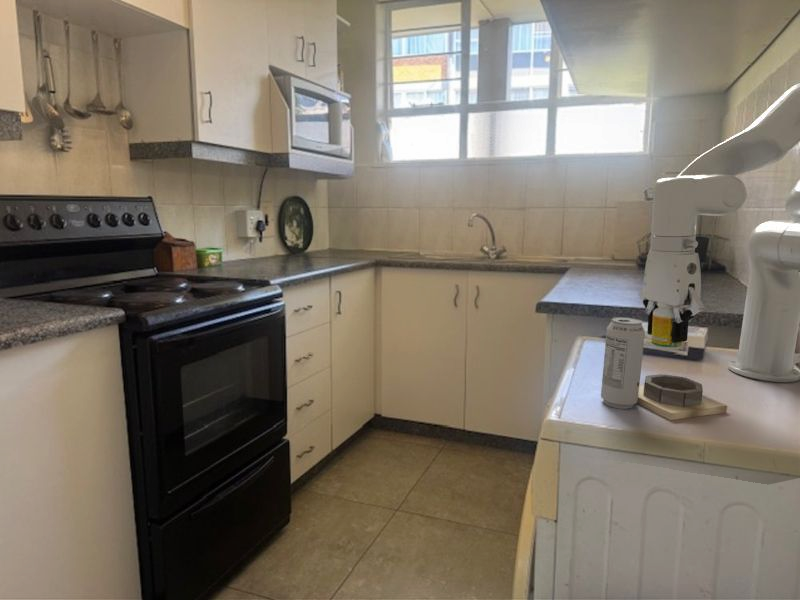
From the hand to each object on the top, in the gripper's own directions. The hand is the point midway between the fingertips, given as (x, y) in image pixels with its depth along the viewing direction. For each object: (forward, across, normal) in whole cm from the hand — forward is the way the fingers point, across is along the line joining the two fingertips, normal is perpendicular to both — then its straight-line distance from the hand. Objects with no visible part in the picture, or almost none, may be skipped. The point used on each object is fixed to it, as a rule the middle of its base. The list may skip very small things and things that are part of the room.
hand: (666, 336), depth 106 cm
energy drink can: (+8, -7, +17) cm, 20 cm away
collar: (+9, -10, +8) cm, 15 cm away
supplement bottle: (+2, 0, 0) cm, 2 cm away
